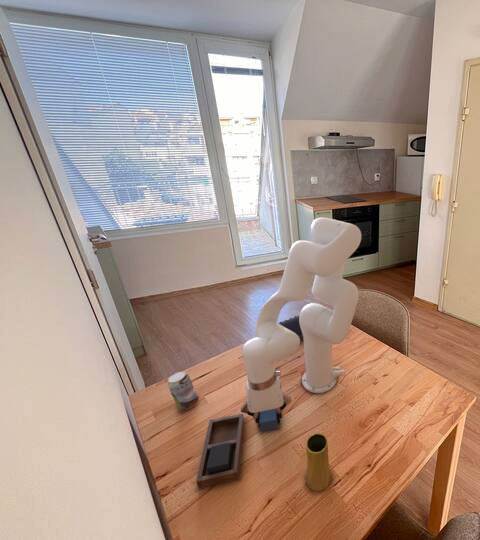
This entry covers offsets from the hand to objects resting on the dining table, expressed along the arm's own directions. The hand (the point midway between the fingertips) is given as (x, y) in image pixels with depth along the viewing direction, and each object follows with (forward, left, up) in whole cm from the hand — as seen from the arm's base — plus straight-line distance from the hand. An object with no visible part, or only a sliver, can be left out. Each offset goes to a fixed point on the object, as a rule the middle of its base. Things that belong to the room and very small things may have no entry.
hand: (269, 420), depth 91 cm
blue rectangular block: (0, 0, 0) cm, 0 cm away
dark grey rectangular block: (+12, +11, 0) cm, 16 cm away
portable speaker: (-8, -39, -1) cm, 40 cm away
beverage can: (+26, -14, -1) cm, 30 cm away
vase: (-13, +20, -1) cm, 24 cm away
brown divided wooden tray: (+12, +6, -1) cm, 14 cm away
